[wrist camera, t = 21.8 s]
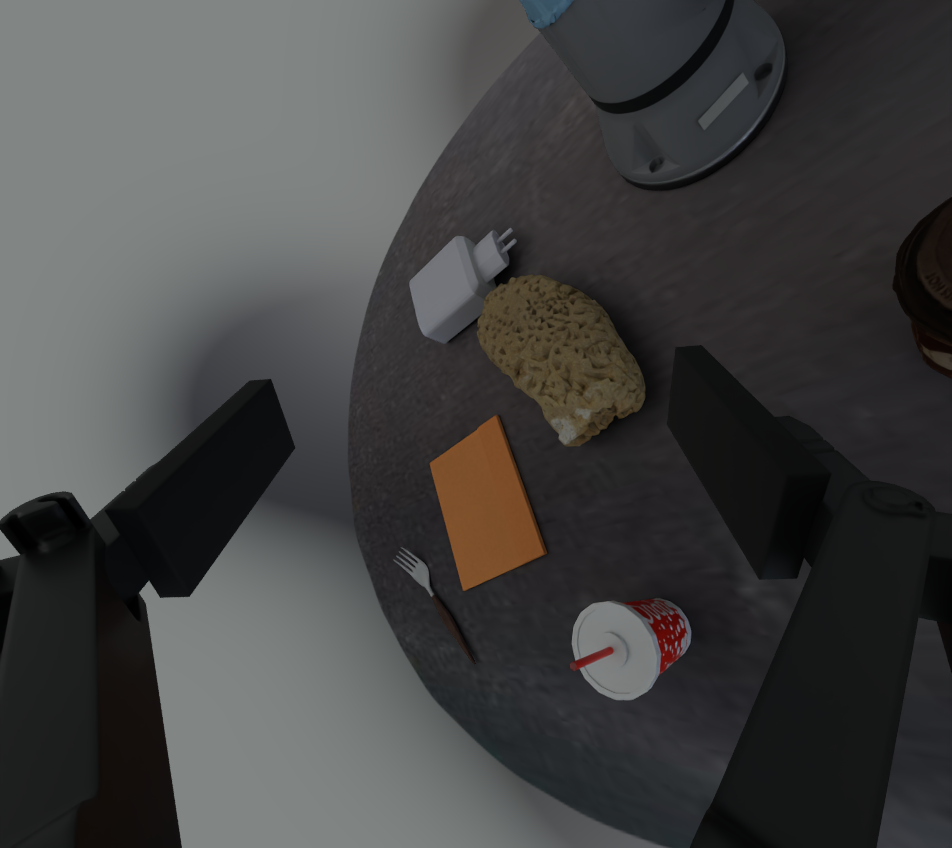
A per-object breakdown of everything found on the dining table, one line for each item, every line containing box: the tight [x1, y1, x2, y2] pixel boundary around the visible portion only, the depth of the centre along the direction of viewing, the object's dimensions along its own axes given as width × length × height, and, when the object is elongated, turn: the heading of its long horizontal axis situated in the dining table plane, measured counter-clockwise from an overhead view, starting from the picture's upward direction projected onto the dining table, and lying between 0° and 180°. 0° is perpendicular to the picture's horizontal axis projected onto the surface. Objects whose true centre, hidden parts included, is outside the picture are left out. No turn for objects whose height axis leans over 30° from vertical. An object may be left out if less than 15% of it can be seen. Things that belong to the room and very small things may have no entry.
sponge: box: [477, 275, 645, 446], centre depth 46 cm, size 13×8×20 cm
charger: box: [409, 228, 517, 344], centre depth 57 cm, size 5×9×15 cm
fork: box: [394, 547, 476, 665], centre depth 54 cm, size 3×16×2 cm, turn 48°
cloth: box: [430, 415, 547, 591], centre depth 53 cm, size 16×12×1 cm
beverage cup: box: [570, 598, 691, 700], centre depth 33 cm, size 6×6×14 cm
